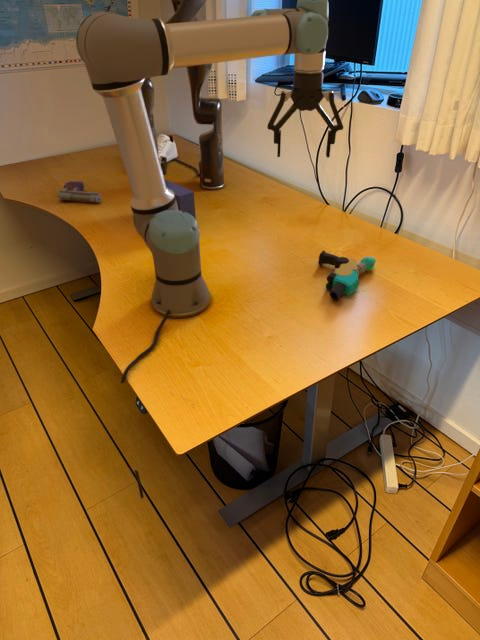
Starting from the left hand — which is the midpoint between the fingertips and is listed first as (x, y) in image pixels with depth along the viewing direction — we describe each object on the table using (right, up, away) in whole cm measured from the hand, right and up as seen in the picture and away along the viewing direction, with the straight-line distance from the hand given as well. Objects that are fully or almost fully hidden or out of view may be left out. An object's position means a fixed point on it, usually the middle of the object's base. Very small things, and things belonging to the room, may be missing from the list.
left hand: (303, 155), depth 133 cm
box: (-42, -10, +32) cm, 54 cm away
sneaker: (-55, +25, +85) cm, 105 cm away
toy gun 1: (-79, +2, +54) cm, 95 cm away
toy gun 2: (+10, -35, +1) cm, 36 cm away
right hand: (-49, -1, +33) cm, 59 cm away
